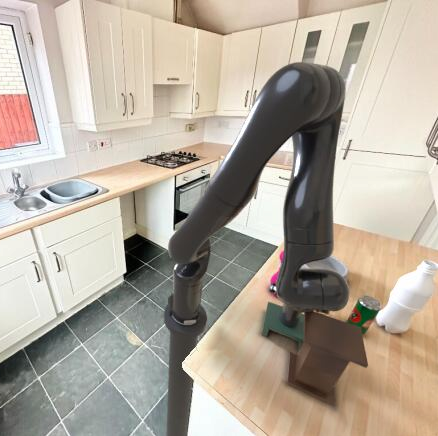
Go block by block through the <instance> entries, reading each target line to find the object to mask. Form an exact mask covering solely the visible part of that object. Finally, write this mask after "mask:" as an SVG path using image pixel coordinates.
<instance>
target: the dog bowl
mask: <svg viewBox="0 0 438 436" xmlns="http://www.w3.org/2000/svg"><path fill="white" fill-rule="evenodd" d="M301 268H316V269H317V268H324V269H331V270H334V271H336V272H338V273H339V274H341V275H342V276H343V277H344V279H345V280H346V282H347V283H348V277H349V268H348V266H347V265H346V264H345V263H344V262H343V261H341V260H340V259H339V258H337V257H335V256H333V255H331V256H330V257H328V258H326V259H323V260H319V261H314V262H310V263H307V264H304V265H303V266H302V267H301Z"/></svg>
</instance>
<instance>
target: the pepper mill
mask: <svg viewBox="0 0 438 436" xmlns="http://www.w3.org/2000/svg"><path fill="white" fill-rule="evenodd" d="M283 254H284V250H282V251H281V252H280V254H279V258H278V259H279V262H278V266H279V268H278V270H277V271H276V272H275V273H274V274H273V275H272V276H271V278H270V280H269V283H270V284H271V282H272V283H275V284H276V281H277V277H278V274H279V270H280V267H281V264H282V260H283ZM269 293H270V294H271V295H272V296H273V297H275V298H278V295H276V296H275V295H274V294H272V293H271V292H269Z"/></svg>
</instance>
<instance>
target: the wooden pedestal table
mask: <svg viewBox="0 0 438 436" xmlns="http://www.w3.org/2000/svg"><path fill="white" fill-rule="evenodd" d="M303 314H304V333H303V343H302V346H301V348H300V350H298V352H297V354H295V353H294V352H289V353H288V363H287V372H286V373H287V375H286V385H287V386H290V387H292V388H293V389H296V390H298V391H300V392H302V393H304V394H305V395H307V396H311V397H312V398H314V399H316V400H319V401H320V402H322V403H325V404H326V405H329V406H331V407H335V406H336V391H335V386H336V384H337V383H338V381H339V380H340V378H341V376H342V375H343V373H344V371H345V370H346V368H347V367H348V365H349V364H350V363H352V364H355V365H358V366H360V367H363V368H365V369H367V368H368V366H369V362H368V358H367V353H366V351H367V350H366V347H365V341H364V337H363V334H362V331H361V327H358V326H355V325H353V324H350V323H347V322H346V321H343V320H341V319H338V318H335V317H332V316H330V315H327V314H324V313H321V312H316V311H315V310H314V311H311V312H306V313H303Z"/></svg>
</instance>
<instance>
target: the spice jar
mask: <svg viewBox="0 0 438 436" xmlns="http://www.w3.org/2000/svg"><path fill="white" fill-rule="evenodd" d="M281 306H282V309H281V312H280V315H279V320H280V322H281V323H282V324H283V325H285V326H287V327H290V328H294V327H296V326H297V324H298V322H299V320H300V317H301V315H302V314H303V313H300V312H296V311H293V310H292V309H290V308H289V307H288V306H286V305H285V304H283V303H282V305H281Z"/></svg>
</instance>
